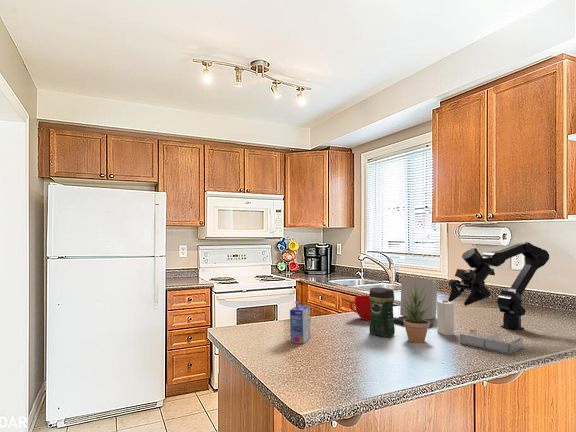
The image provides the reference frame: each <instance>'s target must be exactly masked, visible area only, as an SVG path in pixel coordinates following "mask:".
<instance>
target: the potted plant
mask: <svg viewBox="0 0 576 432" xmlns="http://www.w3.org/2000/svg"><path fill="white" fill-rule="evenodd" d="M414 277H415V282H414V286H415V297H414V294H413V292H412V289H411V286H410V292H411V297H410V295H409V293H408V297H409V300H410V303H411V305H409V304H408V303H407V302H406V301H405V303H406V304H407V306H408V307H409V309H410V310H409V309H408V308H407V307H406V305H405V304H404V305H405V308H406V310H407V311H406V310H405V312H406V313H407V314H408V315H409V318H408V317H407V316H406V317H407V318H408V319H404V320H403V323H404V325H405V326H404V327H405V332H406V335H407V339H408V341H410V342H413V343H424V342H425V341H426V337H427V335H428V334H427V333H428V331H429V327H430V322H431V321H430V322H429V320H428V319H423V318H424V317H423V318H421V317H422V316H423V315H424V313H425V312H426V311H427V310H428V309H429V308H428V309H426V310H425V311H424V310H422V311H420V309H421V308H422V306H423V304H424V302H425V297H426V295H425V297H424V298H423V299H422V300H420V299H421V296H422V294H423V292H424V289H425V287H426V284H427V280H426V283H425V285H424V287H423V289H422V291H420V293H419V295H418V287H417V289H416V277H417V276H416V275H414ZM420 318H421V319H420ZM430 328H431V327H430Z"/></svg>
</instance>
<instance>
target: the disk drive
mask: <svg viewBox="0 0 576 432" xmlns="http://www.w3.org/2000/svg"><path fill="white" fill-rule="evenodd" d="M407 317H408V318H409V316H407ZM407 317H406V316H398V317H396V316H395V317H394V316H393V318H394V325H395V324H396V325H398V326H403V327H405V325H404V323H403V320H404V319H408V318H407ZM428 321H429V320H428ZM429 322H430V327H429V328H433V325H434V324H433V322H432V321H429ZM429 328H428V329H429Z"/></svg>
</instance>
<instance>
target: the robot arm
mask: <svg viewBox="0 0 576 432" xmlns="http://www.w3.org/2000/svg"><path fill="white" fill-rule="evenodd" d="M518 255H519V256H520V255H523V257H524V265H523V267H522V268H521V270H520V271H519V273H518V275H516V278H515V280H514V281H513V283H512V284H511V286H510V287H509V289H508V290H507V289H502V290H501V291H500V294H499V295H498V296H497V300H496V302H497V306H498V309H499V311H500V312H501V313H503V317H502V318H503V320H502V321H503V323H502V325H500V327H502V328H505V329H508V330H513V331H516V330H517V331H518V330H525V327H523V326H522V317H523V316H525V314H526V309H525V308H524V306H523V305H522V303H523V300H522V295H523V293H524V291H525V290H526V289H527V287H528V285H529V284H530V282H531V280H532V278H533V277H534V275H535V273H536V272H537V270H538V269H540V268H542V267H544V266H545V265H546V264H547V263H548V261H549V260H550V254H549V252H548V250H546V249H544V248H541V247H538V246H537V245H534V244H532V243H531V242H527V241H525V242H524V241H520V242H517V243H516V244H513V245H509V246H508V247H505V248H502V249H500V250H494V251H493V250H492V251H486V252H483V253H482V254H481V253H480V252H479V250H478V249H477V247H471V249H467V250H466V251H465V252H463V253H462V255H461V258H462V259H463V260H464V262H466V264H467V266H469V268H470V269H467V270H466V269H461V268H456V271H455V273H454V277H456V278H459V279H460V280H459V279H455V278H453V279H449V281H448V283H447V284H449V286H450V293H449V296H448V302H451V303H452V302H453V301H454V300H456V299H457V298H459V297H460V296H462V293H464V291H470V294H469V295H468V296H467V298H466V299H465V301H464V302H463V306H465V307H467V306H469V305H472V304H474V303H477V302H479V301H481V300H485V299H489V297H490V296H491V291H490V290H489V289H488V287H487V286H486V285H485V284H486V282H485V281H486V280H487V278H488V276H495V275H496V273H495V269H494V268H491V267H496V268H498V267H500V266H502V265H503V264H504V263H505V262H506V261H507V260H508V259H511V258H513V257H515V256H518Z"/></svg>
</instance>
